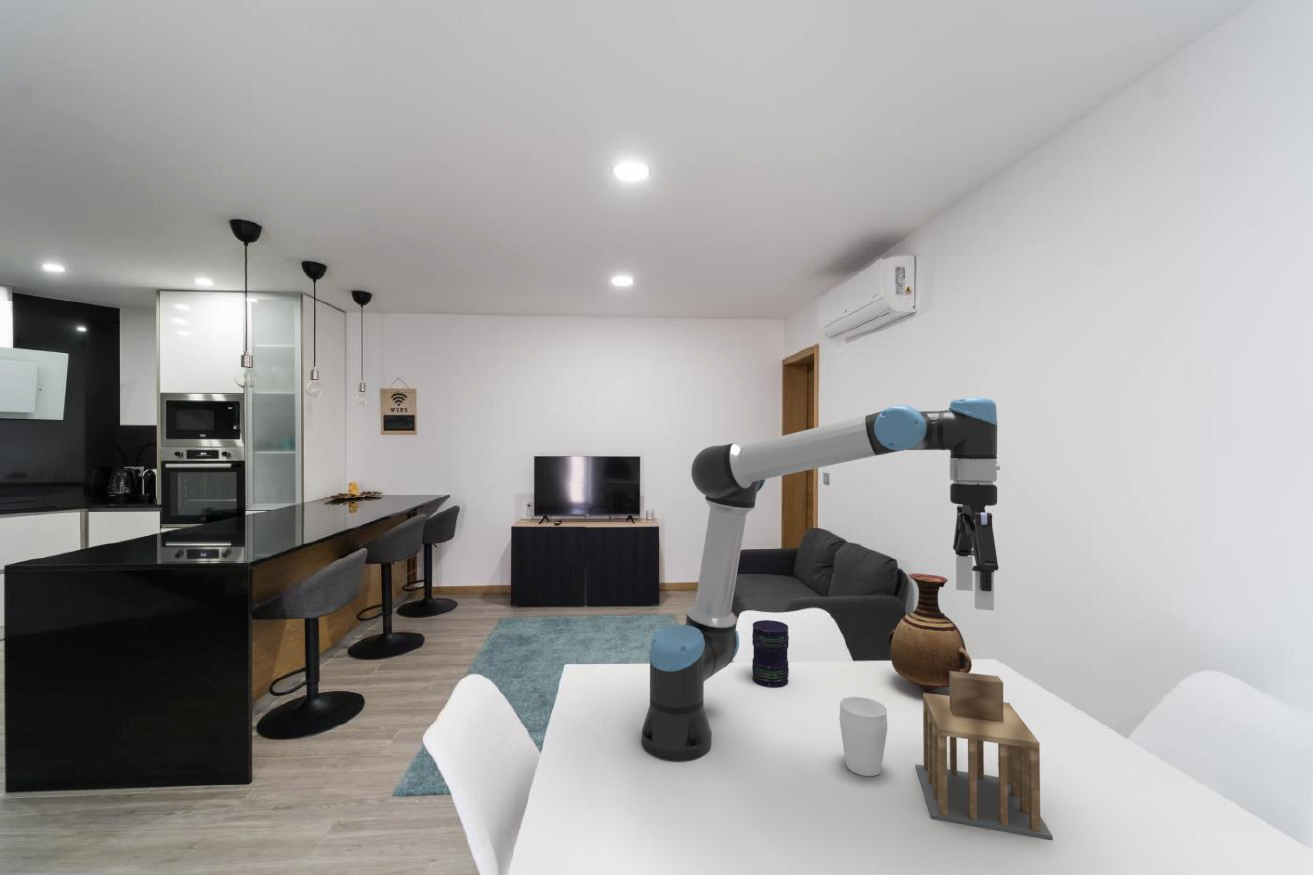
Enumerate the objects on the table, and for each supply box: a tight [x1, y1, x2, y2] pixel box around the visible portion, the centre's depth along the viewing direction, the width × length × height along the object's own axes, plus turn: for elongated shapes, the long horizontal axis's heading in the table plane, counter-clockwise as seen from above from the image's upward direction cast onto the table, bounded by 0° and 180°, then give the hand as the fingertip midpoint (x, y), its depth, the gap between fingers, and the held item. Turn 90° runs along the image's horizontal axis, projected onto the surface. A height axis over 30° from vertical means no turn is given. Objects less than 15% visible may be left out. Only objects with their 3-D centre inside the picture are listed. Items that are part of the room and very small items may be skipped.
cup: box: [838, 696, 889, 777], centre depth 110 cm, size 9×9×12 cm
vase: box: [887, 573, 973, 693], centre depth 146 cm, size 21×18×30 cm
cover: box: [922, 671, 1041, 832], centre depth 100 cm, size 15×15×22 cm
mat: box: [914, 763, 1053, 841], centre depth 100 cm, size 18×16×1 cm
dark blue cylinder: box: [751, 619, 790, 689], centre depth 152 cm, size 10×10×15 cm
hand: (973, 599), depth 101 cm, fingers open, 13 cm apart
